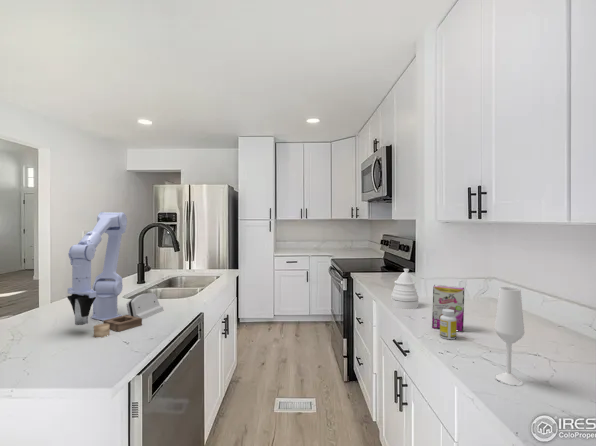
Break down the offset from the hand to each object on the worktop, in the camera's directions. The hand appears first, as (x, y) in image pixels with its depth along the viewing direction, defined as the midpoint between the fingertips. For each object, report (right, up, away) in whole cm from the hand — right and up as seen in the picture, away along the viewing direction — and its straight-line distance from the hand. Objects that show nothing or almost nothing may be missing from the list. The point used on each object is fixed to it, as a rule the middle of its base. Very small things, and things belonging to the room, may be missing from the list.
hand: (81, 315), depth 123 cm
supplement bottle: (+132, -8, 0) cm, 132 cm away
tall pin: (0, -3, 0) cm, 3 cm away
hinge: (+12, -7, +24) cm, 28 cm away
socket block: (+11, -6, +8) cm, 15 cm away
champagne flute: (+133, -8, -33) cm, 138 cm away
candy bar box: (+136, -8, +10) cm, 137 cm away
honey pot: (+131, -8, +45) cm, 138 cm away
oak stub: (+9, -6, -3) cm, 11 cm away
